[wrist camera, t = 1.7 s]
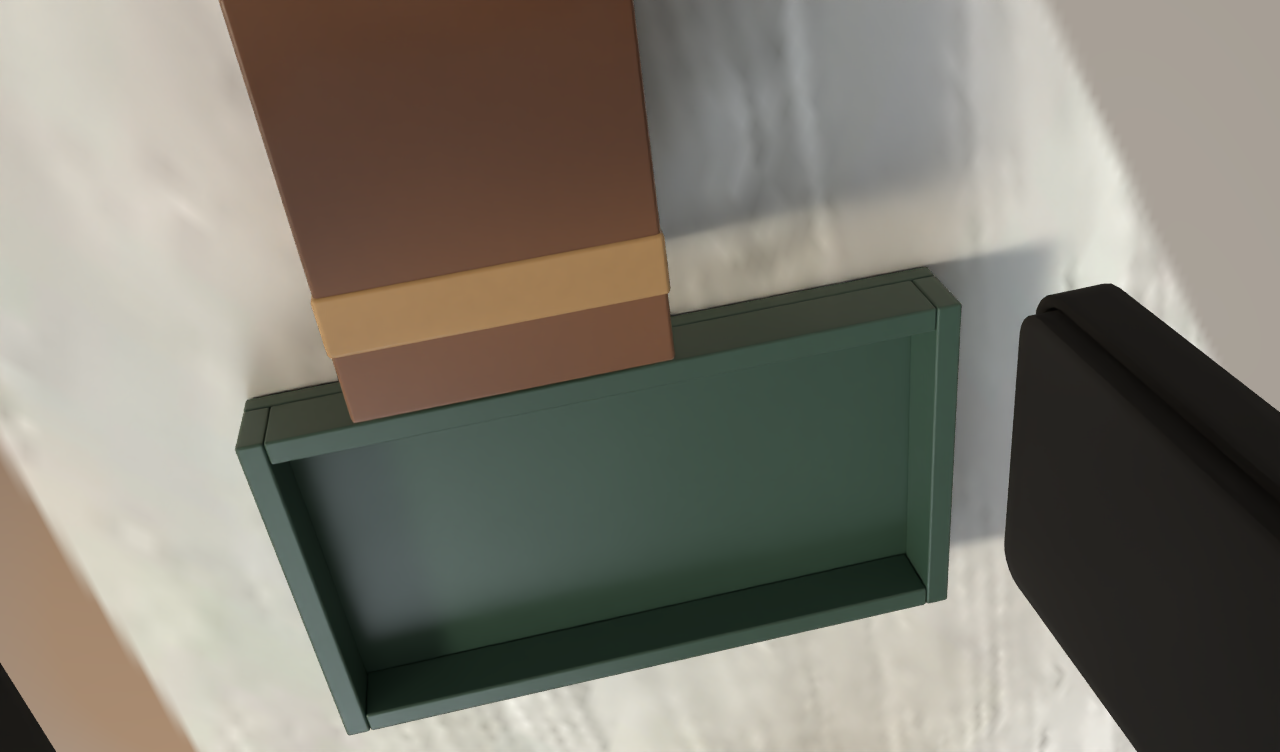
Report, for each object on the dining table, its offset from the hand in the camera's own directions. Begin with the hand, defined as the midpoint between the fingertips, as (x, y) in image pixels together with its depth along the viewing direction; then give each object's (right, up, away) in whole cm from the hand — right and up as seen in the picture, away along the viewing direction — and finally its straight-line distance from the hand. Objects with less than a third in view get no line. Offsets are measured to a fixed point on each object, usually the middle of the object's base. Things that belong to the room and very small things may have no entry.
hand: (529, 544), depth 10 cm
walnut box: (-3, +8, +12) cm, 15 cm away
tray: (+1, -1, +18) cm, 18 cm away
